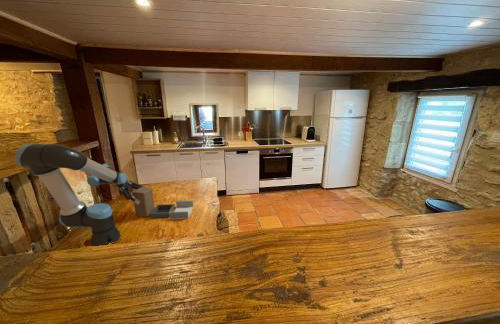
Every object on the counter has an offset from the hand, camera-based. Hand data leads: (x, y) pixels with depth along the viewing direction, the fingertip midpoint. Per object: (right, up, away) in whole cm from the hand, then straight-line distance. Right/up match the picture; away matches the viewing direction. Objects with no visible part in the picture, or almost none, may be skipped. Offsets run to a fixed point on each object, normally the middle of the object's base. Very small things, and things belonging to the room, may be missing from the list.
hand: (143, 198), depth 152 cm
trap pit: (+14, -12, +3) cm, 19 cm away
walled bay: (+28, -11, +4) cm, 31 cm away
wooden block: (+1, -12, +2) cm, 12 cm away
